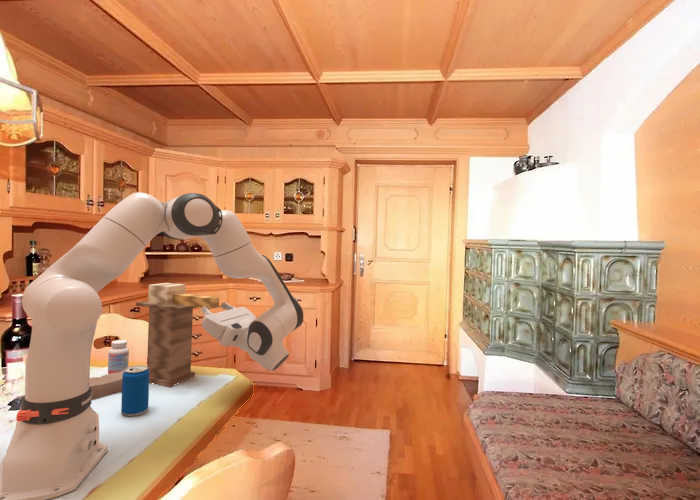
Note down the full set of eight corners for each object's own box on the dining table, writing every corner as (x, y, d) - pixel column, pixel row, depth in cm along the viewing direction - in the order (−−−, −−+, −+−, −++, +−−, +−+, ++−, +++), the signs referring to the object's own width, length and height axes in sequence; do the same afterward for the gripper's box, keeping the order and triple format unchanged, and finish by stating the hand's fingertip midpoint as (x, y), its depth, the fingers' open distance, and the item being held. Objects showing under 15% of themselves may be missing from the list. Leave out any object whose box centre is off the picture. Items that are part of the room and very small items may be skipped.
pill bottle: (103, 376, 131) (104, 343, 131) (115, 370, 137) (116, 338, 137) (121, 377, 131) (122, 344, 131) (131, 371, 137) (132, 339, 137)
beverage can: (136, 405, 110) (137, 363, 110) (153, 409, 108) (155, 366, 108) (115, 414, 104) (116, 370, 104) (133, 419, 102) (135, 374, 102)
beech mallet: (223, 306, 129) (224, 288, 128) (207, 309, 121) (208, 290, 121) (166, 299, 136) (167, 282, 136) (148, 302, 129) (148, 284, 129)
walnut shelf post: (202, 377, 134) (205, 302, 133) (176, 389, 123) (179, 307, 122) (162, 369, 140) (164, 298, 139) (133, 380, 128) (136, 302, 128)
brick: (124, 382, 127) (124, 368, 127) (136, 389, 122) (136, 374, 122) (64, 397, 114) (64, 381, 114) (74, 405, 109) (75, 389, 109)
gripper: (266, 318, 130) (237, 294, 134) (228, 329, 111) (195, 302, 115) (257, 333, 132) (228, 309, 135) (218, 347, 112) (186, 319, 116)
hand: (213, 306), depth 125 cm, fingers open, 8 cm apart
